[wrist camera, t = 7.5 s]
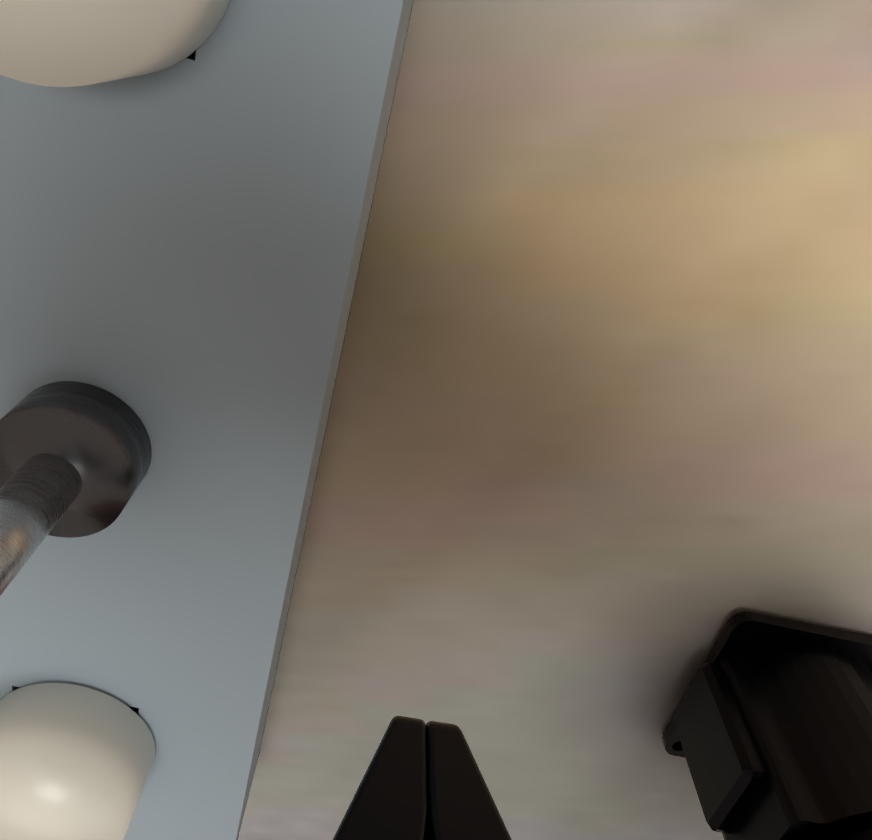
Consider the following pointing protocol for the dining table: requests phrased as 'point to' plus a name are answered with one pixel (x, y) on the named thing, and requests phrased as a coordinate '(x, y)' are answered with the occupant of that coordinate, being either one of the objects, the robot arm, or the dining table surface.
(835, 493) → the dining table surface
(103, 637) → the mount
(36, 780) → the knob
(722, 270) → the dining table surface
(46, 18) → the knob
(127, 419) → the pot stem
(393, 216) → the dining table surface
